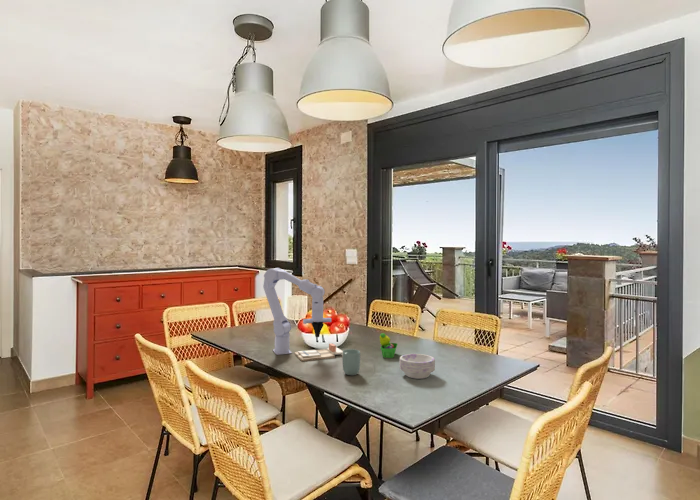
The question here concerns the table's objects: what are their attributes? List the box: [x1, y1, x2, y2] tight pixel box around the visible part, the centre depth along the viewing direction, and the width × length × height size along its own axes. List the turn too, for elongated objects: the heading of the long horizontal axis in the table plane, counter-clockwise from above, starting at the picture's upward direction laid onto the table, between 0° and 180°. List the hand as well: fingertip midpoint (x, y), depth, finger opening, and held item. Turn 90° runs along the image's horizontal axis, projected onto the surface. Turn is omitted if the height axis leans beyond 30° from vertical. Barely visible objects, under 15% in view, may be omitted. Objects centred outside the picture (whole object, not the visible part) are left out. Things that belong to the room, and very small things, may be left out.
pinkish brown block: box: [326, 343, 344, 356], centre depth 216 cm, size 10×6×4 cm, turn 22°
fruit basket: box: [378, 332, 398, 359], centre depth 214 cm, size 11×9×11 cm
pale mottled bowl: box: [399, 353, 436, 380], centre depth 182 cm, size 15×15×8 cm
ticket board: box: [293, 348, 336, 362], centre depth 211 cm, size 14×17×2 cm
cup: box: [341, 348, 361, 376], centre depth 183 cm, size 8×8×10 cm
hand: (317, 336), depth 213 cm, fingers closed
